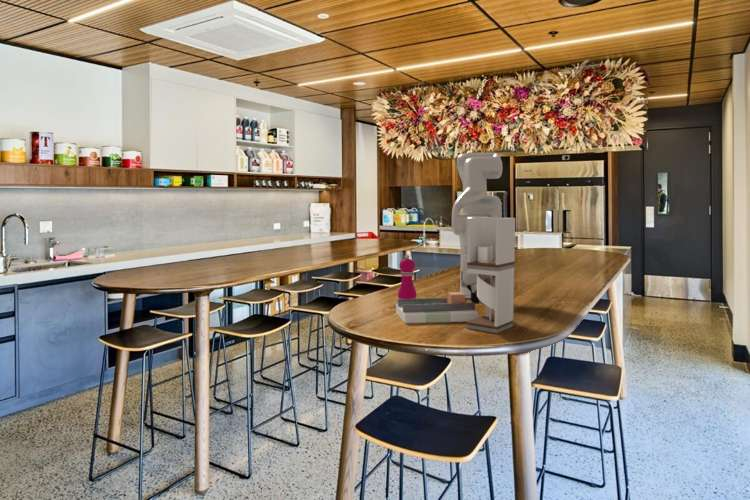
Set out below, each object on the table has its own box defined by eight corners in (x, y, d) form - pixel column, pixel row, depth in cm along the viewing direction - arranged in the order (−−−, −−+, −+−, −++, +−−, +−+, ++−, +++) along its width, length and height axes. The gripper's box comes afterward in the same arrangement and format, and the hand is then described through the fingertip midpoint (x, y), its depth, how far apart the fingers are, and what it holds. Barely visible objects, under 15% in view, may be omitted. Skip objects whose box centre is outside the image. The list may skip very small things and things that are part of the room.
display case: (483, 321, 178) (485, 217, 175) (513, 326, 171) (515, 218, 168) (466, 328, 169) (467, 218, 166) (496, 333, 163) (499, 219, 159)
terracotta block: (461, 305, 190) (461, 292, 190) (465, 308, 185) (465, 294, 185) (447, 306, 189) (447, 292, 189) (451, 309, 184) (451, 294, 184)
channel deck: (462, 310, 197) (462, 302, 197) (477, 321, 179) (478, 312, 179) (395, 312, 194) (396, 304, 194) (404, 323, 176) (405, 314, 176)
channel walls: (465, 303, 193) (465, 297, 193) (474, 310, 182) (475, 303, 182) (397, 305, 190) (397, 298, 190) (403, 312, 179) (403, 305, 179)
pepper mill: (409, 308, 199) (409, 256, 198) (393, 306, 204) (394, 254, 202) (420, 305, 205) (420, 254, 203) (404, 303, 210) (404, 253, 208)
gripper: (492, 250, 191) (491, 300, 193) (452, 251, 189) (451, 301, 191) (500, 252, 183) (499, 304, 185) (458, 253, 182) (457, 305, 183)
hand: (475, 303), depth 188 cm, fingers closed
